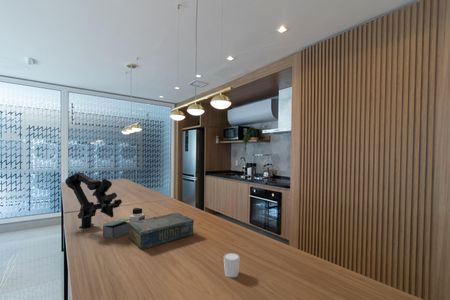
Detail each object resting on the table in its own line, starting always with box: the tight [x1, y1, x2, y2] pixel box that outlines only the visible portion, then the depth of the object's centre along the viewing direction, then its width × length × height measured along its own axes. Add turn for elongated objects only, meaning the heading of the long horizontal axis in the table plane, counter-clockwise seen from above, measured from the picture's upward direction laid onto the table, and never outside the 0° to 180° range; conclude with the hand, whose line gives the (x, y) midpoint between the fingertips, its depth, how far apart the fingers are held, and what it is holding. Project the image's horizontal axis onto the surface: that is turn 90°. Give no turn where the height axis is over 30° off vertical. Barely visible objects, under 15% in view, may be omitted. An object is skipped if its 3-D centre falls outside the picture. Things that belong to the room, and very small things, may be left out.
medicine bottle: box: [129, 207, 146, 222], centre depth 147 cm, size 7×7×12 cm
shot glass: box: [223, 252, 241, 278], centre depth 89 cm, size 7×7×7 cm
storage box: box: [102, 221, 130, 240], centre depth 131 cm, size 9×12×6 cm
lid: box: [102, 217, 130, 227], centre depth 131 cm, size 9×12×1 cm
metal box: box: [128, 212, 195, 251], centre depth 128 cm, size 21×32×10 cm, turn 131°
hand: (112, 217), depth 133 cm, fingers closed
